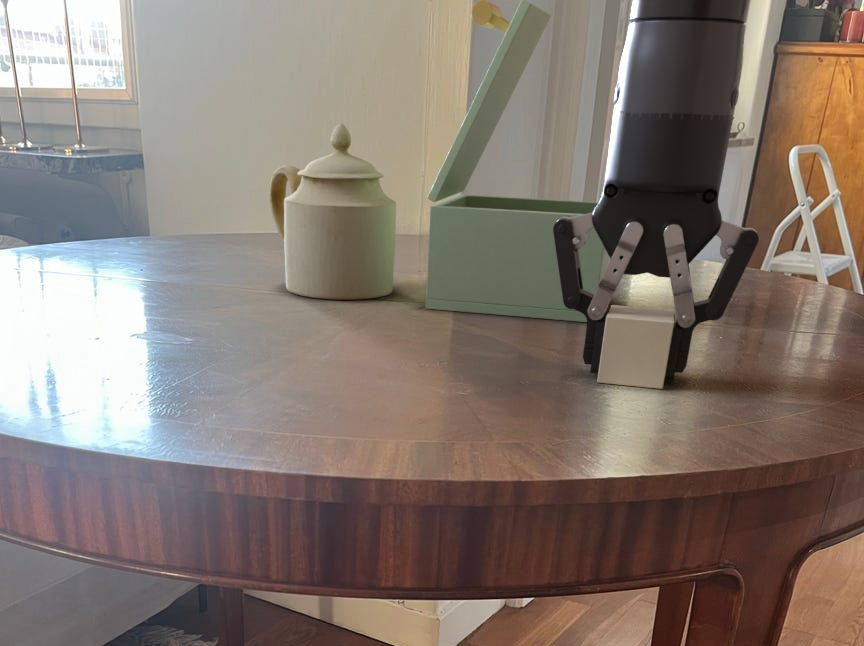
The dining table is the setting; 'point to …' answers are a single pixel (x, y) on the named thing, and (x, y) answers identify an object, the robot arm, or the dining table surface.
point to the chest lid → (490, 91)
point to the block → (636, 346)
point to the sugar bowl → (335, 226)
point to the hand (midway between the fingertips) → (631, 373)
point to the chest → (505, 256)
